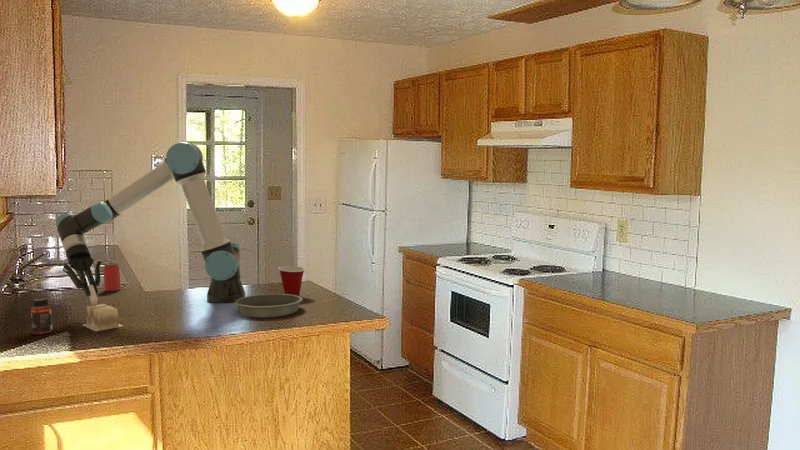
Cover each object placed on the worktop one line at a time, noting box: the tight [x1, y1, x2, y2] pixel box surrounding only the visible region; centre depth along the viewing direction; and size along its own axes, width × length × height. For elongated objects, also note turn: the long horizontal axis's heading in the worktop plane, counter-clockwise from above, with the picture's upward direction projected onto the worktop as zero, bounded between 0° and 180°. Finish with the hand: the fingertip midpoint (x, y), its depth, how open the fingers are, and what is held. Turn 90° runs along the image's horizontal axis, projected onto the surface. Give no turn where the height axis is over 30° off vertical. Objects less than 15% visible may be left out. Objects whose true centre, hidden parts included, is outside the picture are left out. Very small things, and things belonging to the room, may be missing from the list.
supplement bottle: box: [30, 297, 54, 336], centre depth 221 cm, size 6×6×11 cm
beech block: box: [85, 303, 120, 331], centre depth 229 cm, size 6×6×13 cm
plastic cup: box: [278, 265, 306, 296], centre depth 276 cm, size 11×11×12 cm
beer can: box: [103, 262, 122, 293], centre depth 296 cm, size 7×7×12 cm
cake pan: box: [234, 293, 303, 318], centre depth 250 cm, size 25×25×4 cm
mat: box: [82, 323, 124, 332], centre depth 230 cm, size 12×9×1 cm
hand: (95, 302), depth 233 cm, fingers closed
